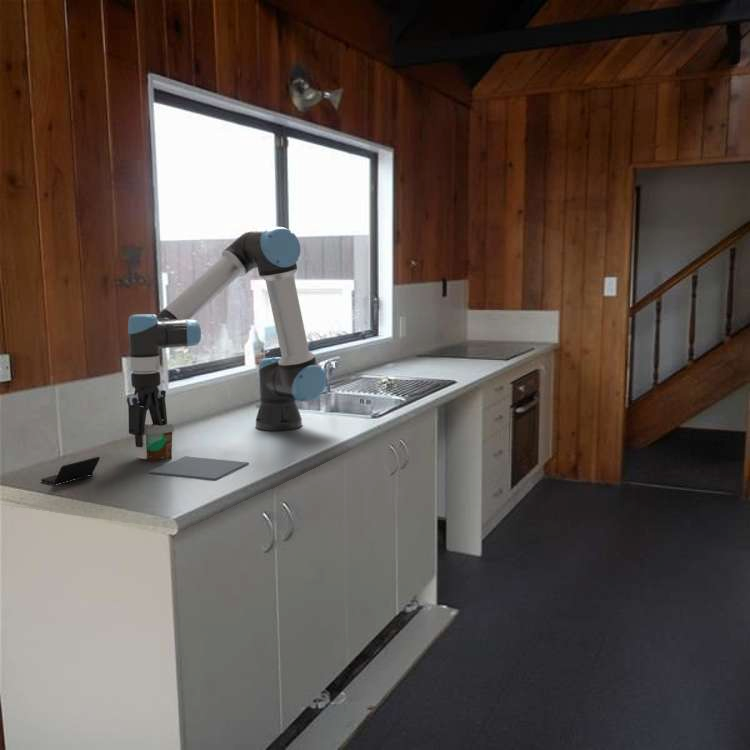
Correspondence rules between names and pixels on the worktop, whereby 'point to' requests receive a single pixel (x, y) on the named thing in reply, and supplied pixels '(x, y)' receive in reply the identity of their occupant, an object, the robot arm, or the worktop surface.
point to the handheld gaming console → (73, 471)
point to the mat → (199, 468)
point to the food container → (158, 442)
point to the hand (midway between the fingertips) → (150, 454)
